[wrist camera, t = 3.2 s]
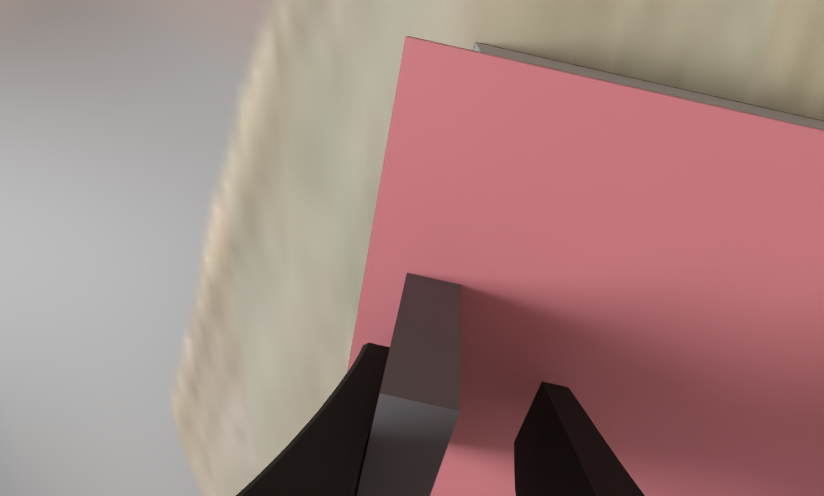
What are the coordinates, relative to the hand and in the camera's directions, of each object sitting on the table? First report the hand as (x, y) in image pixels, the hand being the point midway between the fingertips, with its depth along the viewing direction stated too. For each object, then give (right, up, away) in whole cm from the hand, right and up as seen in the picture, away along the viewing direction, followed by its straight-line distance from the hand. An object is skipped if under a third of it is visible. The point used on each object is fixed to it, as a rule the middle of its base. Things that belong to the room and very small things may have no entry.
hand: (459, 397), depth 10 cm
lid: (+6, -1, +1) cm, 6 cm away
